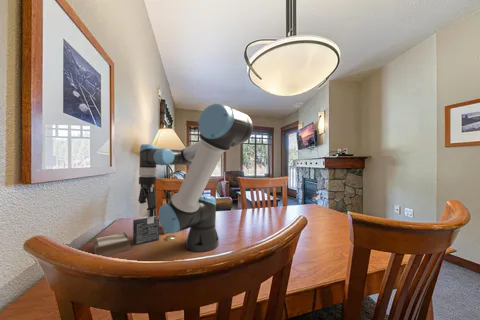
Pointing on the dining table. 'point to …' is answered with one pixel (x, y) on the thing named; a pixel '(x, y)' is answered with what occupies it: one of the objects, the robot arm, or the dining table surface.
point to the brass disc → (170, 237)
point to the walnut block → (162, 230)
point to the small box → (145, 231)
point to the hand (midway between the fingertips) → (146, 219)
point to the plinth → (111, 244)
